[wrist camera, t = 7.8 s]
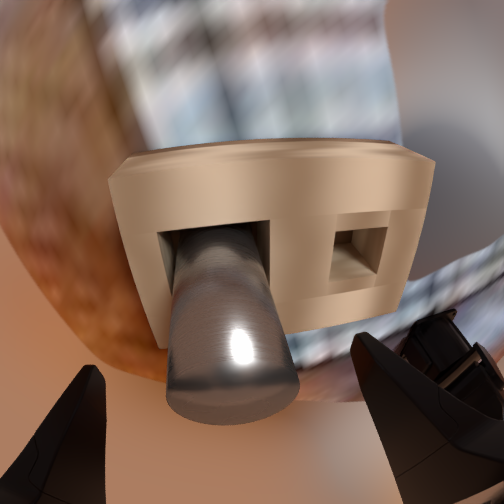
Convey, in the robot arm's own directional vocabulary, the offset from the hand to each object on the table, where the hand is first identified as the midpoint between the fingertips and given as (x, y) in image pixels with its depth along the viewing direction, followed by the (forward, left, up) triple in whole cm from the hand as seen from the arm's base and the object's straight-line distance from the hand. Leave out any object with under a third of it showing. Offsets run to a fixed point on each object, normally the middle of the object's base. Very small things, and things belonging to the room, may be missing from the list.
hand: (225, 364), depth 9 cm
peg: (0, 0, -9) cm, 9 cm away
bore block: (-4, 0, -10) cm, 10 cm away
